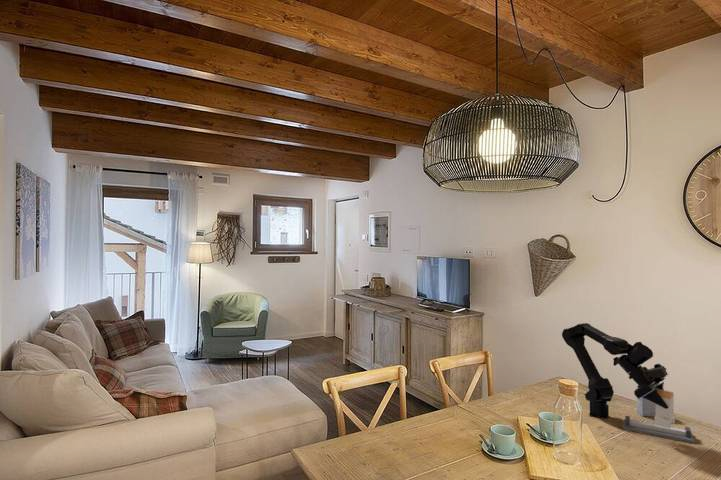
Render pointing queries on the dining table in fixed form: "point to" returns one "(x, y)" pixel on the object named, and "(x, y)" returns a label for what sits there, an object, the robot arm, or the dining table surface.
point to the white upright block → (665, 410)
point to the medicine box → (646, 407)
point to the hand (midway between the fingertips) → (669, 406)
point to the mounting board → (656, 433)
